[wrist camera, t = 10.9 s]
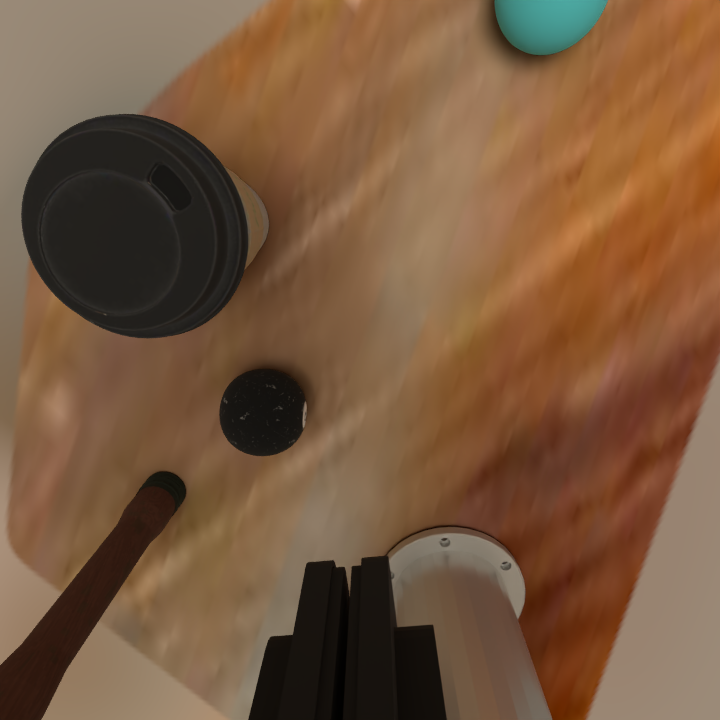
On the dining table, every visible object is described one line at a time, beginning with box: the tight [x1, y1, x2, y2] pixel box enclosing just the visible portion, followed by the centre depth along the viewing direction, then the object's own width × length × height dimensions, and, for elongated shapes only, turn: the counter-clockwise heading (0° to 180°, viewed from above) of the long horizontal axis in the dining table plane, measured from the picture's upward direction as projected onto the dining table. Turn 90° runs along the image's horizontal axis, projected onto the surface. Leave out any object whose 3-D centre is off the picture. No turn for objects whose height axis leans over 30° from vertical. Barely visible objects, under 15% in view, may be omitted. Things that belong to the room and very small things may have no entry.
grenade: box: [0, 472, 186, 720], centre depth 26 cm, size 6×6×30 cm
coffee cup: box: [21, 114, 269, 338], centre depth 27 cm, size 9×9×15 cm
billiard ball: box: [219, 369, 307, 456], centre depth 35 cm, size 6×6×6 cm
